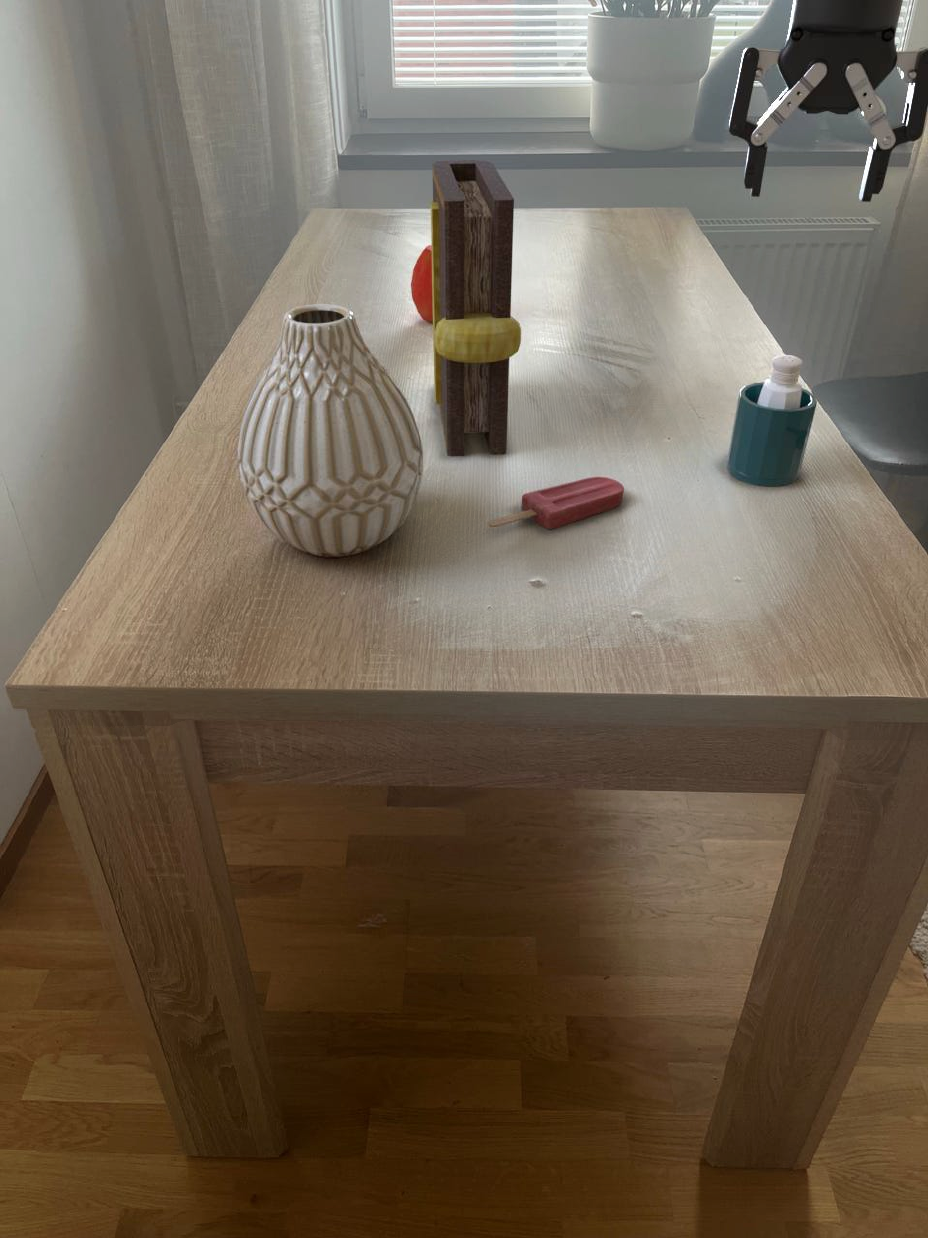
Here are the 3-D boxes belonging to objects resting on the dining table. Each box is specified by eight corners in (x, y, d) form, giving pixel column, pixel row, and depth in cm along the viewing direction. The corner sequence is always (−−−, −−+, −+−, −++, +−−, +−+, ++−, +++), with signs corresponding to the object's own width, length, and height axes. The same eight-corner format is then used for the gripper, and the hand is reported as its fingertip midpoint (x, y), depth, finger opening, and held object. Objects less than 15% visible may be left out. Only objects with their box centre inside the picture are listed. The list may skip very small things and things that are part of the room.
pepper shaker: (786, 452, 96) (810, 349, 89) (799, 477, 92) (824, 369, 85) (733, 451, 96) (753, 348, 90) (744, 475, 92) (765, 368, 85)
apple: (467, 309, 136) (468, 233, 130) (469, 327, 130) (470, 248, 124) (412, 309, 136) (410, 233, 130) (411, 328, 130) (408, 248, 123)
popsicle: (476, 506, 85) (604, 470, 91) (475, 523, 86) (603, 486, 92) (503, 527, 81) (634, 488, 88) (502, 544, 82) (632, 504, 89)
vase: (322, 477, 93) (301, 274, 81) (457, 517, 87) (456, 302, 75) (212, 549, 82) (170, 325, 70) (358, 600, 75) (339, 363, 64)
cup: (807, 465, 95) (825, 391, 91) (786, 493, 91) (804, 416, 86) (740, 448, 99) (754, 376, 94) (716, 474, 94) (729, 400, 89)
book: (426, 386, 113) (420, 160, 98) (495, 383, 113) (500, 159, 98) (438, 468, 95) (434, 208, 80) (520, 465, 95) (531, 206, 81)
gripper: (753, -49, 64) (718, 203, 73) (976, -51, 61) (909, 211, 70) (753, -48, 70) (720, 185, 79) (955, -50, 67) (896, 192, 76)
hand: (809, 197), depth 75 cm, fingers open, 8 cm apart
